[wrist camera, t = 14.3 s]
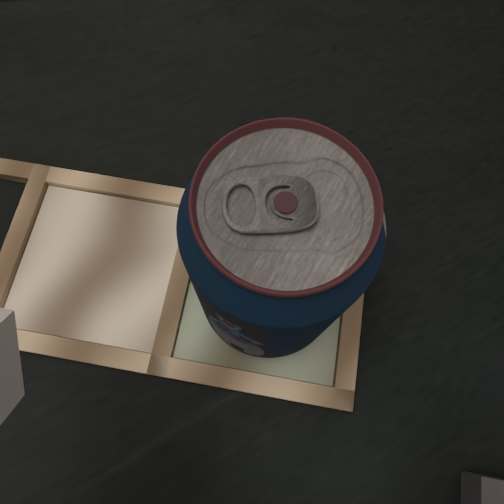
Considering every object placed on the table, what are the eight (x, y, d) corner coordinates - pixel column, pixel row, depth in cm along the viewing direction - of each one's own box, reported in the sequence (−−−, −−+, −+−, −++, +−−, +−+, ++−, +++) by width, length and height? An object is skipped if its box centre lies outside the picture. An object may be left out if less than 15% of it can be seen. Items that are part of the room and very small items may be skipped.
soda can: (322, 233, 26) (385, 96, 14) (337, 356, 23) (425, 310, 12) (201, 239, 25) (167, 104, 14) (204, 364, 23) (166, 324, 12)
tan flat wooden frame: (-194, 311, 24) (-208, 307, 23) (-109, 145, 27) (-119, 138, 27) (349, 411, 23) (352, 412, 22) (367, 225, 26) (371, 220, 25)
